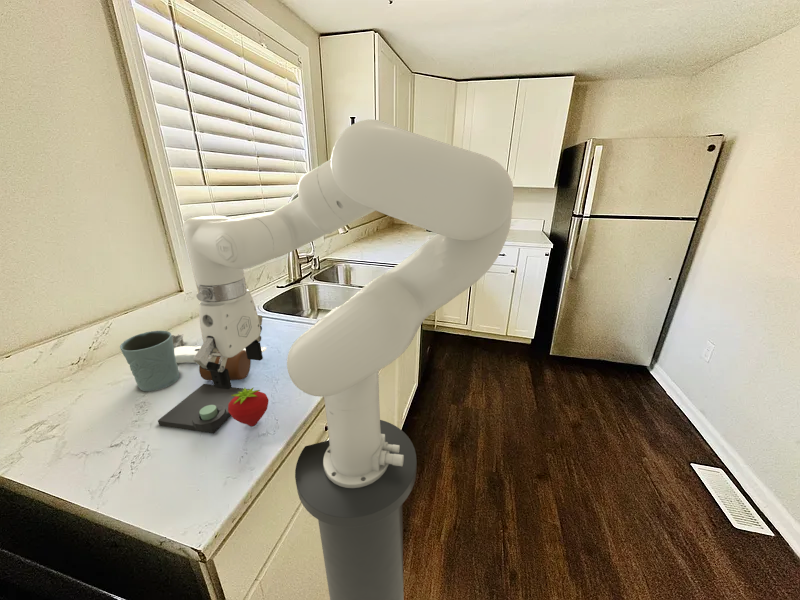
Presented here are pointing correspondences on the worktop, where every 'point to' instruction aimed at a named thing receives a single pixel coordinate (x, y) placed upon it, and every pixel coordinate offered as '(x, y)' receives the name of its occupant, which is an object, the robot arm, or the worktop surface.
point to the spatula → (190, 353)
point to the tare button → (208, 412)
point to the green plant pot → (151, 359)
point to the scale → (190, 407)
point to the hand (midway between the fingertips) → (240, 372)
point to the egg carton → (177, 340)
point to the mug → (232, 367)
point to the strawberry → (248, 406)
